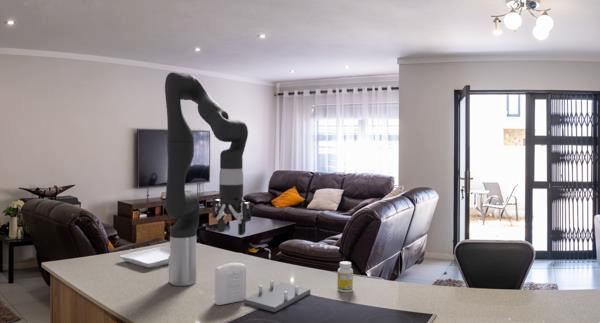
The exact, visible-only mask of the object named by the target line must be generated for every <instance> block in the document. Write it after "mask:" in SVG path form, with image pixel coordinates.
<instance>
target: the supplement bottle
mask: <svg viewBox="0 0 600 323" xmlns="http://www.w3.org/2000/svg"><path fill="white" fill-rule="evenodd" d="M353 289H354V270H353V268H352V262H351V261H347V260H346V261H344V260H343V261H340V262H339V268H338V269H337V290H338V291H339V292H342V293H350V292H352V291H353Z"/></svg>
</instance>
